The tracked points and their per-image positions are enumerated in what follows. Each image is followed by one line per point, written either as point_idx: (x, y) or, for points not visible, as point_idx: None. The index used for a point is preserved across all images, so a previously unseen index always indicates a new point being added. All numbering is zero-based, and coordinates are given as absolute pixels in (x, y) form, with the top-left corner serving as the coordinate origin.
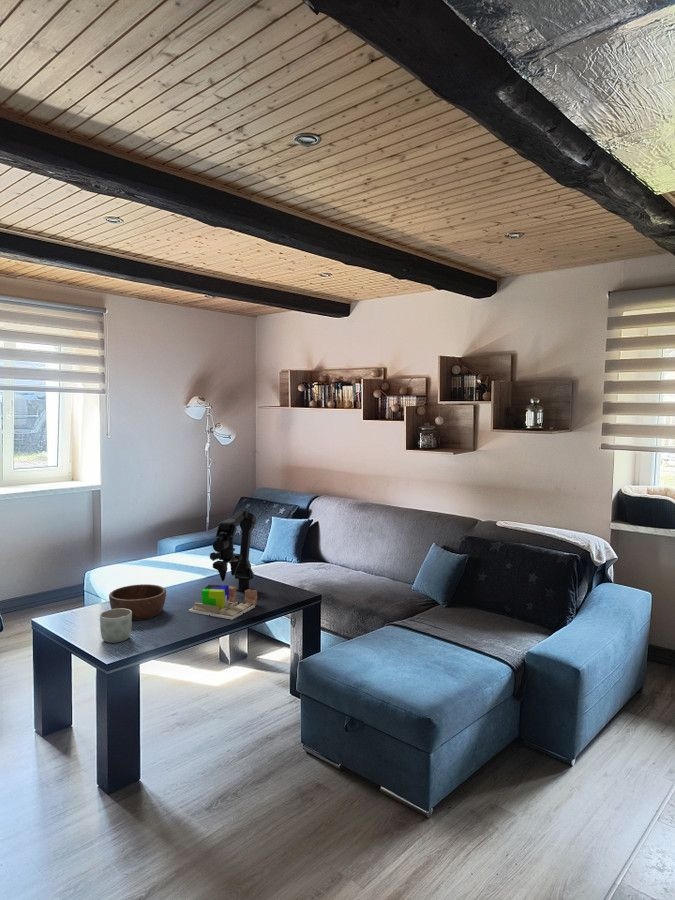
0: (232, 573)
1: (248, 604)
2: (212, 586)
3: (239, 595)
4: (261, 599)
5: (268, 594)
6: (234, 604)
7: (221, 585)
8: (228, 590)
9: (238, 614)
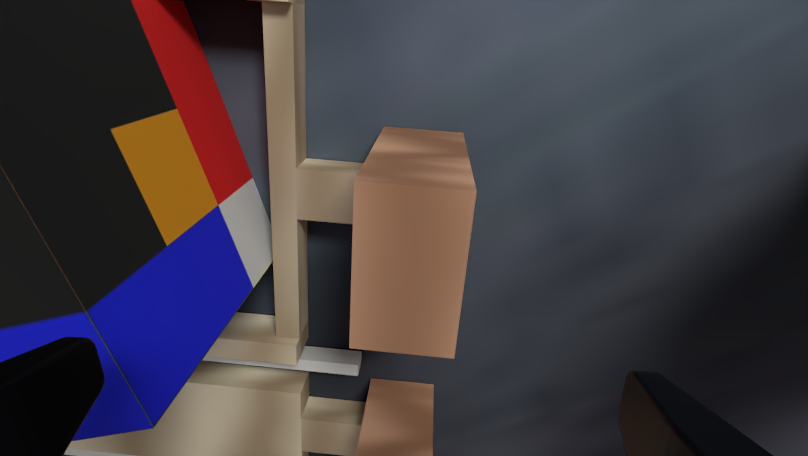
0: (647, 443)
1: (320, 450)
2: None
3: (684, 185)
4: (590, 443)
5: (774, 446)
6: (235, 354)
7: (66, 310)
8: (185, 367)
9: (85, 453)
